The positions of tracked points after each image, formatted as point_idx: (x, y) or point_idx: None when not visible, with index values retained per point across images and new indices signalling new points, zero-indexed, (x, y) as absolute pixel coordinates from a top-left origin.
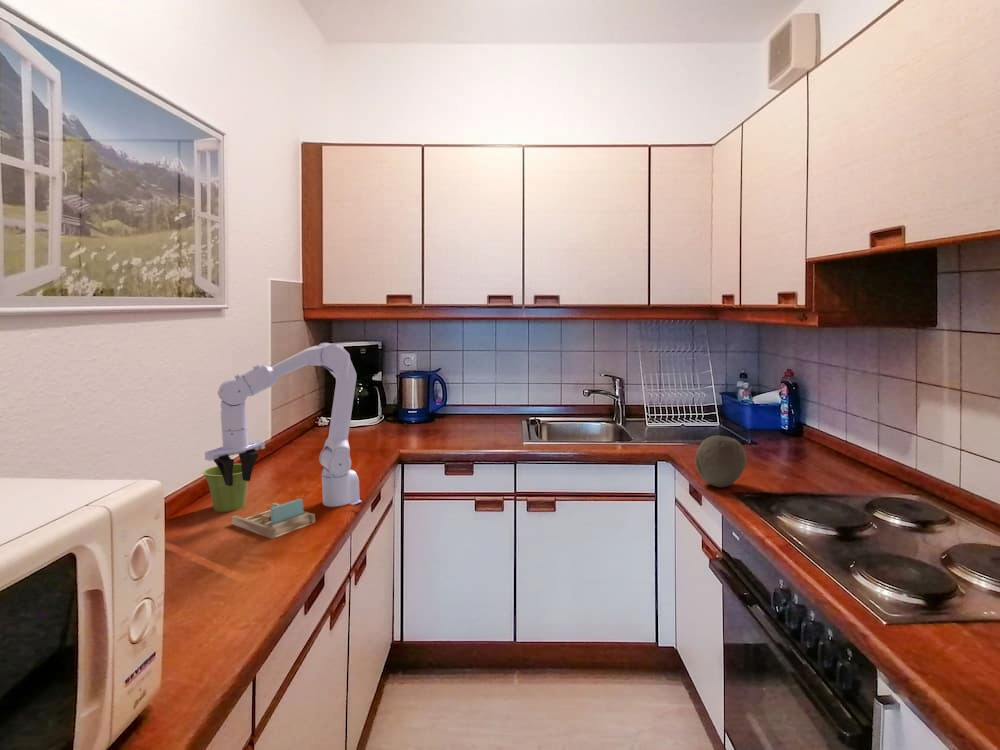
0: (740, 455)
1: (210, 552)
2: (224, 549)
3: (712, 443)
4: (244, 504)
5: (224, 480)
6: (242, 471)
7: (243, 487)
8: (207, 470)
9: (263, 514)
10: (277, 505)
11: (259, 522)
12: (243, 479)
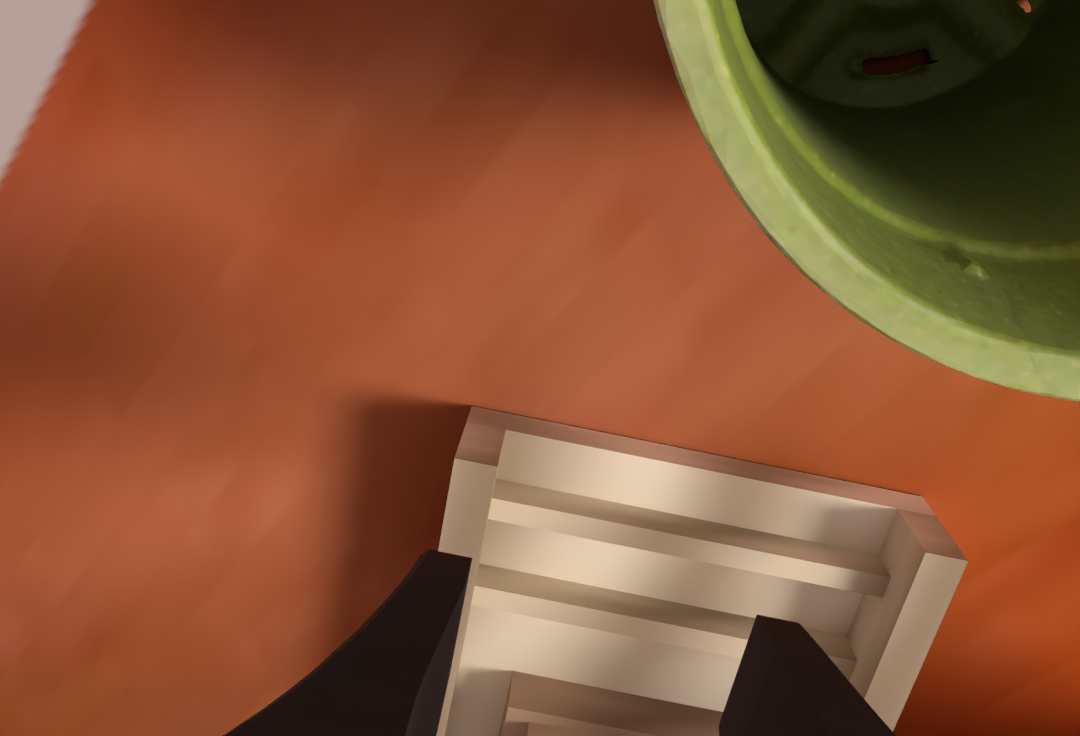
0: None
1: (70, 612)
2: (155, 658)
3: None
4: (982, 102)
5: (402, 587)
6: (800, 722)
7: (1031, 209)
8: None
9: (732, 559)
10: (888, 637)
11: (507, 709)
12: (757, 631)
